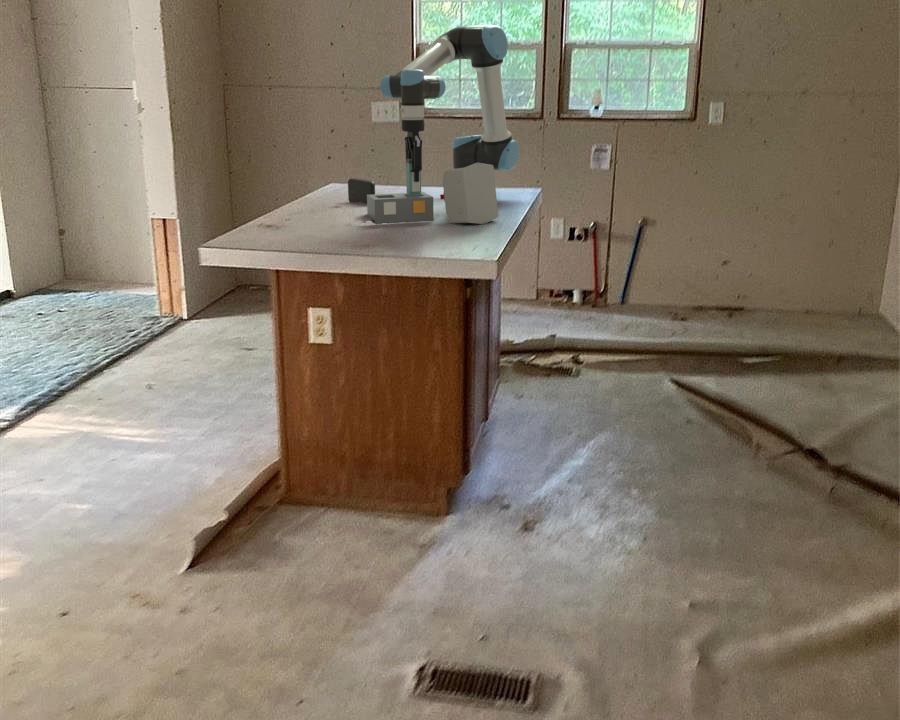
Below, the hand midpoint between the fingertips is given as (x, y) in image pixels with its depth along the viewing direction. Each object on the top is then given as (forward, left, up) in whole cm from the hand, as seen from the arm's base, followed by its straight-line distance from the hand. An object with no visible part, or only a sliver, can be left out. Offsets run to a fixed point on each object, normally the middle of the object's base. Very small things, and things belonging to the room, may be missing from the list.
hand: (414, 190), depth 300 cm
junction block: (+5, 0, -10) cm, 11 cm away
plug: (0, 0, -4) cm, 4 cm away
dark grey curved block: (+11, -35, -10) cm, 38 cm away
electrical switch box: (-15, +10, -10) cm, 21 cm away
